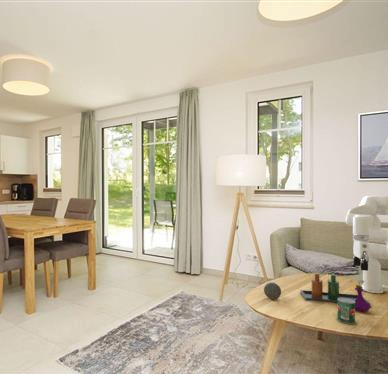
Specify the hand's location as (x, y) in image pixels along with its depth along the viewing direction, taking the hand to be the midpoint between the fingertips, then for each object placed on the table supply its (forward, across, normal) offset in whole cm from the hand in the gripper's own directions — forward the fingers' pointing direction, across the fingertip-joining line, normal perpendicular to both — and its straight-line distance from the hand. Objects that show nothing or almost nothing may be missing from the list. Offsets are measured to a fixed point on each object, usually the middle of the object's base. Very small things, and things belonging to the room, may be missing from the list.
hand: (360, 267), depth 170 cm
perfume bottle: (+25, 0, 0) cm, 25 cm away
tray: (+25, +16, +9) cm, 31 cm away
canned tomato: (+25, -14, +12) cm, 31 cm away
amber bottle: (+24, +16, +18) cm, 34 cm away
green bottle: (+24, +16, +9) cm, 30 cm away
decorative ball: (+25, +8, +45) cm, 52 cm away
